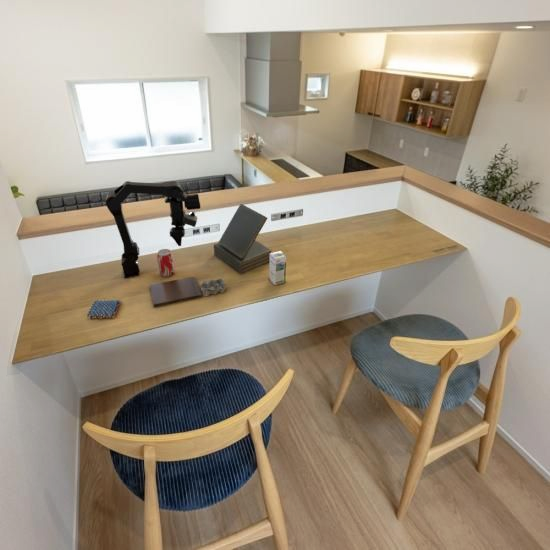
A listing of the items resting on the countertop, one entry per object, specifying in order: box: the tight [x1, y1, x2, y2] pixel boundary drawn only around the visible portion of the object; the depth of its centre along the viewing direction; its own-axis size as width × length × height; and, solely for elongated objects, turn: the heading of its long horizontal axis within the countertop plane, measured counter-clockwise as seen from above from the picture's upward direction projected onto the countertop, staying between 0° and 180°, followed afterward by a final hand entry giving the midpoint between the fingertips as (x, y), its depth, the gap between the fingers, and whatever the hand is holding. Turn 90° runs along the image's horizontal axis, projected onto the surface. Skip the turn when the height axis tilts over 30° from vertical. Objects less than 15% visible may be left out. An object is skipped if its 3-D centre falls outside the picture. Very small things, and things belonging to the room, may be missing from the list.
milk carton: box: [269, 250, 287, 286], centre depth 166 cm, size 6×6×14 cm
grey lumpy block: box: [199, 277, 227, 297], centre depth 162 cm, size 11×8×4 cm
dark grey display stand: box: [213, 203, 272, 275], centre depth 180 cm, size 23×20×25 cm
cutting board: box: [149, 276, 202, 308], centre depth 160 cm, size 20×15×2 cm
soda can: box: [156, 248, 176, 278], centre depth 169 cm, size 7×7×12 cm
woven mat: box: [86, 299, 121, 320], centre depth 149 cm, size 10×11×2 cm
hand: (180, 241), depth 171 cm, fingers open, 9 cm apart
